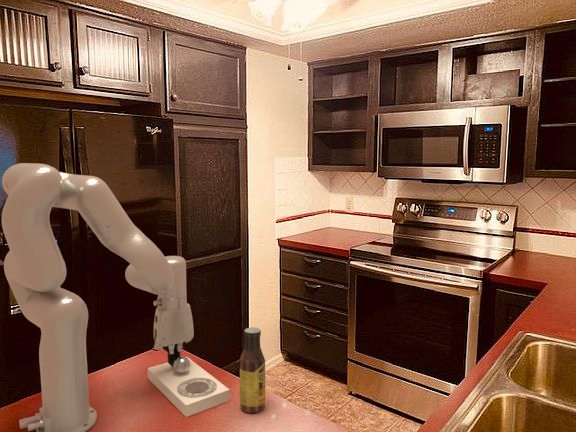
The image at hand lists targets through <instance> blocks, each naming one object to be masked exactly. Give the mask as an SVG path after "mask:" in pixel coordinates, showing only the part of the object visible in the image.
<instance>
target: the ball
mask: <svg viewBox="0 0 576 432" xmlns="http://www.w3.org/2000/svg"><path fill="white" fill-rule="evenodd" d="M186 357H187V356H181V355H180V357H178V358H177V359H176V360H175V361H174V364H173V367H174V370H175V371H176V372H177V373H179V374H183V373H186V372H187V371H188V370H189V368H190V361H189V359H190V358H189V357H188V358H189V359H188V358H186Z"/></svg>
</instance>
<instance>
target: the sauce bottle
mask: <svg viewBox="0 0 576 432" xmlns="http://www.w3.org/2000/svg"><path fill="white" fill-rule="evenodd" d="M243 332H244V333H243V335H244V349H243V351H242V352H241V354H240V359H239V361H240V363H239V366H240V367H239V402H240V409H241V410H242V411H243V412H245V413H250V414H252V413H253V414H254V413H258V412H260V411H262V410H264V408H265V405H266V404H265V402H266V359H265V356H264V354H263V351H262V347H261V336H262V334H261V329H260V328H258V327H247V328H245V329H244V331H243Z"/></svg>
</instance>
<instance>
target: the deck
mask: <svg viewBox="0 0 576 432" xmlns="http://www.w3.org/2000/svg"><path fill="white" fill-rule="evenodd" d="M185 357H186V358H188V359H189V361H190V368H189V370H188V371H187V372H186V373H183V374H179V373H177V372H176V371H175V370H174V368H173V367H172V366H171V365H170V364H169V363H168V361H167V362H164V363H160V364H156V365H153V366H150V367H148V368H147V369H146V370H147V379H148V380H149V381H150V382H151V383H152V384H153V385H154V386H155V387H156V388H157V389H158V390H159V391H160V392H161V393H162V394H163V395H164V396H165V397H166V398H167V400H169V401H170V402H171V403H172V404H173V405H174V406H175V407H176V409H177V410H179V412H181V413H182V414H183V416H184V417H185V418H187V417H190V416H193V415H196V414H198V413H201V412H203V411H205V410H206V411H207V410H208V409H211V408H215V407H216V406H220V405H222V404H224V403H227V402H229V401H230V398H231V395H230V392H231V391H230V388H228V387H227V386H226V385H224V384H223V383H222V382H221V381H219V380H218V379H217V378H215V377H214V376H213V375H211V374H210V373H209V372H207V371H206V370H205V369H203V368H202V367H201V366H200V365H199V364H197V363H196V362H194V361H193V360H192V359H191V358H189V356H185Z"/></svg>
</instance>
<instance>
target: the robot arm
mask: <svg viewBox="0 0 576 432" xmlns="http://www.w3.org/2000/svg"><path fill="white" fill-rule="evenodd" d="M1 179H2V180H1V185H2V188H3V190H4V191H5V193H6V194H7V197H6V200H5V203H4V205H3V209H2V213H1V227H2V231H3V234H4V238H5V240H6V242H7V246H8V248H9V251H8V252H7V254H6V255H5V258H4V262H3V270H4V275H5V278H6V280H7V282H8V285H9V287H10V289H11V292H12V293H13V296H14V297H15V300H16V303H17V304H18V306H19V309H20V311H21V313H22V315H23V316H24V317H25V318H26V319H27V320H28V321H29V322H30V323H32V324H34V325H35V326H36V327H38V328H39V329H40V333H41V335H40V342H39V348H38V349H39V350H38V351H39V352H38V354H39V355H38V358H39V361H38V363H39V372H40V385H41V400H42V401H41V402H42V406H41V407H39V412H36V413H34V415H33V416H28V417H24V418H22V419H19V420H18V423H19V429H20V430H22V429H25V428H27V431H28V432H31V431H34V430H36V432H87V431H88V430H90V429H91V428H92V427H93V426H94V425H95V424H96V422H97V419H98V414H97V410H95V408H93V407H92V406H90V398H89V396H90V395H89V378H88V375H89V373H88V362H87V361H88V360H87V359H88V358H87V329H88V323H89V322H88V321H89V310H88V307H87V304H86V303H85V301H84V300H83V299H82V298H81V297H80V296H79V295H77V294H76V293H74V292H73V291H72V292H71V291H69V290H67V289H65V288H62V287H61V286H62V284H63V283H64V282H65V280H66V277H67V267H66V262H65V260H64V258H63V255H62V253H61V250H60V247H59V246H58V243H57V241H56V238H55V236H54V233H53V230H52V227H51V223H50V214H51V210H52V208H60V209H66V210H72V211H77V212H78V213H79V214H80V216H81V217H82V219H83V220H84V221H85V222H86V224H87V225H88V227H89V228H90V230H91V231H92V232H93V233H94V234H95V236H96V237H97V239H98V240H99V241H100V243H101V244H102V245H103V246H104V247H105V248H107V249H108V250H109V251H111V252H112V253H114V254H116V255H117V256H120V257H121V258H123V259H124V260H125V261H126V262H128V263H129V265H128V266H127V267H126V269H125V273H124V274H125V275H124V277H125V280H126V281H127V283H128V284H129V285H130V286H132V287H133V288H136V289H139V290H142V291H146V292H148V293H151V294H154V295H157V299H156V300H153V303H152V304H153V306H154V307H156V309H155V313H154V321H153V340H154V345H153V347H154V349H155V350H156V351H159V350H160V351H161V350H164V351H165V352H167V362H168V363H169V364H170V365H171V366H172V367H173V364H174V361H175V360H176V359H177V358H178V357H181V352H182V351H183V348H184V347H185V345H186V344H188V343H190V342H191V341H192V340H193V338H194V335H195V334H194V332H195V331H194V321H193V314H192V309H191V305H190V304H189V303H188V301H187V300H188V299H187V295H188V294H187V261H186V259H185V258H184V257H182V256H181V255H180V256H179V255H167V256H165V255H164V253H163V252H162V251H161V249H160V248H158V247H157V245H156V244H155V243H154V242H153V241H152V240H151V239H150V238H149V237H147V236H146V235H145V233H143V232H142V230H140V228H138V227H137V225H135V224H134V222H132V219H130V217H129V215H128V214H127V213H126V211H125V210H124V208H123V207H122V205H121V204H120V202H119V201H118V199H117V198H116V196H115V194H114V193H113V191H112V190H111V189H110V187H109V186H108V185H107V183H106V182H105V181H104V180H102V179H101V178H99V177H98V176H94V175H83V174H74V173H67V172H63V171H59V170H58V169H57V168H55V167H53V166H51V165H49V164H45V163H31V162H28V163H27V162H22V163H21V162H20V163H16V164H13V165H11V166H10V167H8V168H7V169H5V171H4V173H3V176H2V177H1ZM173 368H174V367H173Z"/></svg>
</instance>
